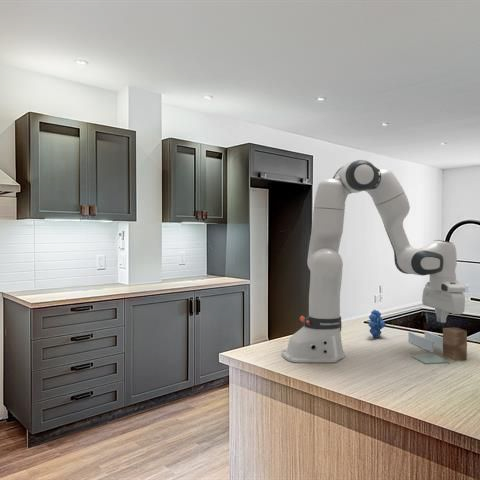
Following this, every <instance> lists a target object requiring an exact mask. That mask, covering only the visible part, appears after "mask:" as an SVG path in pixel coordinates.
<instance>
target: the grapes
mask: <svg viewBox="0 0 480 480" xmlns="http://www.w3.org/2000/svg"><path fill="white" fill-rule="evenodd" d="M381 315H382V313H381V312H380V311H379V310H377V309H373V310H372V311H371V312H370V315H369V316H368V318H369V320H370V321H369V322H368V326H369V327H370V328H369V330H368V331H369V333H370V334H371V335H372V337H373V338H376V339H377V338H378V337H379V336H380V335H382V331H381V330H382V329H383V328H385V327H386V326H387V324H386V323H385V321H384V320H383V319H384V318H382V316H381Z"/></svg>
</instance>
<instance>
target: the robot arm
mask: <svg viewBox="0 0 480 480" xmlns="http://www.w3.org/2000/svg"><path fill="white" fill-rule="evenodd" d="M363 191H364V192H366V193H368V195H369V196H370V197H371V199H372V201H373V203H374V206H375V208H376V210H377V213H378V214H379V216H380V218H381V221H382V224H383V225H384V228H385V232H386V235H387V237H388V239H389V242H390V245H391V248H392V250H393V257H394V258H393V259H394V265H395V267H396V268H397V270H398V271H399V272H400V273H403V274H406V275H407V274H408V275H416V276H423V277H424V276H429V281H427V282H426V283H425V285H424V288H423V289H422V290H423V292H422V300H421V302H422V305H423V306H426V307H429V308H433V309H434V313H435V315H436V321H437V322H439V323H442V324H443V323H444V324H445V323H446V322H447V317H448V316H449V314H450V313H451V314H453V315H463V313H464V312H465V308H466V307H465V306H466V297H465V294H464V293H465V292H466V286H464V284H462V283H461V282H459V281H458V280H457V274H456V268H457V262H458V261H457V260H458V259H457V249H456V245H455V244H454V243H453V242H450V241H447V240H440V239H435V240H433V241H432V242H430V243H429V244H427V245H425V246H423V247H420V248H415V247H413V246H412V245H411V243H410V241H409V239H408V236H407V234H406V230H405V229H404V221H405V219H406V217H407V216H408V214H409V212H410V207H411V206H410V202H409V199H408V197H407V195H406V192H405V190H404V188H403V186H402V185H401V183H400V181H399V180H398V178H397V177H396V175H395V174H394V173H393V172H392V170H390V169H388V168H380V169H379V168H378V167H376V166H375V165H374V164H373V163H372V162H370V161H368V160H363V159H358V160H355V161H354V160H353V161H350V162H348V163H346V164H345V165H343V166H341V167H340V168H339V169H338V170H337V171H336V172H335V174H334V175H333V177H331V178H324V179H323V180H321V181H319V183H318V184H317V189H316V193H315V196H314V203H313V210H312V211H313V213H312V223H311V231H310V232H311V233H310V239H309V245H308V250H307V251H308V252H307V261H306V263H307V267H308V269H309V271H310V279H309V291H308V292H309V293H308V315H307V316H306V317H305V316H303V315H301V316H300V317H299V320H300V322H302V323H303V326H302V327H301V328H300V329H298V330H297V331H296V332H295V333H293V334H292V335H291V336H290V337H289V340H288V344H287V348H284V349H282V351H281V356H282V357H283V358H284V359H285V360H286V361H289V362H292V363H338V361H339V360H341V359H344V358H345V352H344V348H343V341H342V336H341V335H342V328H343V327H342V317H341V289H342V279H343V278H342V277H343V265H344V264H343V258H342V256H341V255H340V254H339V250H340V244H341V240H342V236H343V233H344V223H345V221H344V220H345V211H346V200H347V198H348V196H349V195H350V194H357V193H358V194H359V193H360V192H361V193H362V192H363Z"/></svg>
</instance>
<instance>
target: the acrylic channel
mask: <svg viewBox="0 0 480 480" xmlns="http://www.w3.org/2000/svg"><path fill="white" fill-rule="evenodd" d="M407 333H408V335H407V336H408V337H407V338H408V339H407V340H408V341H409V342H408V343H410V342H411V343H410V344H413V345H415V346H417V347H419V346H420V347H419V348H421V347H422V348H421V349H424V350H425V351H428V352H430V353H434V352H435V350H434V349H435V348H434V347H435V346H436V347H439V348H441V349H443V336H440V335H437V334H435V333H432V332H430V331H427V330H424V336H421V335H418V334H416V333H414V332H412V331H408V332H407Z"/></svg>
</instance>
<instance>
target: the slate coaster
mask: <svg viewBox="0 0 480 480" xmlns="http://www.w3.org/2000/svg"><path fill="white" fill-rule="evenodd" d="M410 357H411V358H412V357H413V359H414V358H415V359H414V360H416V359H417V360H416V361H418V362H421V363H422V364H424V365H434V364H437V365H438V364H448V363H449V364H450V363H451V361H450V360H447V359H445V358H444V357H441V356H439V355H436V354H433V353H432V354H431V353H430V354H416V355H410Z"/></svg>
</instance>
